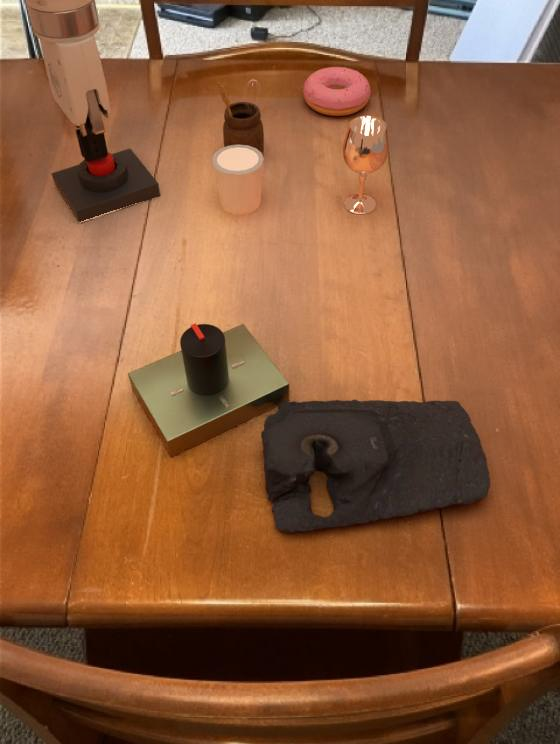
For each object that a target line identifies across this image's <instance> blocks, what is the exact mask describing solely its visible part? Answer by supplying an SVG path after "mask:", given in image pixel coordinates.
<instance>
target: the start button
mask: <svg viewBox="0 0 560 744" xmlns="http://www.w3.org/2000/svg"><path fill="white" fill-rule="evenodd" d="M112 154H113V153H111V152H109V151H108V156H107V157H104V158H100V159H97V160H93V161H90V162H87V165H88V169H89V172H90V174H91V175H93V176H105V175H108V174H111V173H113V172H114V171H115V163H114V159H113V156H112Z"/></svg>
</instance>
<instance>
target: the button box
mask: <svg viewBox="0 0 560 744" xmlns="http://www.w3.org/2000/svg"><path fill="white" fill-rule="evenodd" d="M111 154H112V156H113V159H114V163H115V171H114V172H113V173H111V174H108V175H105V176H93V175H91V174H90V172H89V169H88V165H87V162H86V160H85V159H84V160H82V161H81V162H80V163H79V164H76V165H73V166H70V167H67V168H64V169H61V170H58V171H54V172H52V173H51V177H52V179H53V183H54V186H55V185H56V186H57V188H58V189H57V188H56V189H57V191H58V190H59V191H60V193H61V194H62V196H63V197H64V199H65V200H64V199H63V200H64V202H65V201H66V202H67V203H66V202H65V203H66V204H68V205H69V207H70V208H69V207H68V208H69V210H70V209H71V210H72V211H71V210H70V211H71V213H72V212H73V213H74V214H73V213H72V214H73V216H74V215H75V216H74V218H75V217H76V218H77V219H76V218H75V219H76V221H77V220H78V221H79V222H81V221H84V220H86V219H90V218H93V217H95V216H99V215H101V214H104V213H107V212H110V211H113V210H117V209H120V208H123V207H126V206H129V205H132V204H135V203H139V202H142V201H145V202H148V201H150V200H153V199H156V198H159V197H161V191H160V184H159V183H158V181H157V179H156V178H155V177H154V176H153V175H152V173H151V172H150V170H148V169H147V167H146V166H145V165H144V164H143V162H142V161H141V160H140V158H139V157H138V156H137V155H136V153H135V152H134V150H132V148H126V149H124V150H120V151H118V152H117V151H116V152H114V153H111ZM56 186H55V187H56ZM59 191H58V192H59ZM60 193H59V194H60ZM61 194H60V195H61ZM62 196H61V197H62ZM63 197H62V198H63ZM155 197H156V198H155ZM152 198H153V199H152ZM147 200H148V201H147ZM142 203H143V202H142ZM139 204H140V203H139ZM68 205H67V206H68ZM78 221H77V222H78ZM79 222H78V223H79Z"/></svg>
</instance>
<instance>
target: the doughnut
mask: <svg viewBox="0 0 560 744" xmlns="http://www.w3.org/2000/svg"><path fill="white" fill-rule="evenodd" d="M301 89H302V93H303V97H304V100H305V102H306V104H307V105H308V106H309V107H310V108H311V109H312V110H314V111H316V112H318V113H319V114H322V115H326V116H332V117H343V116H348V115H353V114H355V113H357V112H359V111H361V110H362V109H363V108H364V107H366V105H367V103H368V102H369V99H370V97H371V94H372V93H371V92H372V91H371V90H372V89H371V85H370V83H369V81H368V78H366V76H364V75H363V74H362V72H361V71H360V72H359V71H358V70H357V69H356V70H355V69H352V68H348V67H345V66H344V67H341V66H330V67H324V68H321V69H318V70H316V71H315V72H311V73H310V75H309V76H308V78H307V79H306V80H304V85H303V86H302V88H301Z"/></svg>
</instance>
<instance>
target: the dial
mask: <svg viewBox="0 0 560 744" xmlns="http://www.w3.org/2000/svg"><path fill="white" fill-rule="evenodd" d="M223 332H224V331H223V330H222V329H220V328H219V327H218V326H216V325H213V324H209V323H199V324H197V323H196V322H195V323H193V324H190V327H188V328H187V329H186V330H185V331H184V332H183V333H182V334H181V337H180V340H179V341H180V342H179V345H180V351H182V356H183V362H184V367H185V373H186V378H187V383H188V385H189V387H190V388H191V389H192V390H193V391H195V392H197V393H199V394H206V395H207V394H214V393H217V392H219V391H220V390H222V389H223V388H224V387H225V386H226V384H227V383H228V380H229V373H228V363H227V354H226V344H225V336H224V334H223Z"/></svg>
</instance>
